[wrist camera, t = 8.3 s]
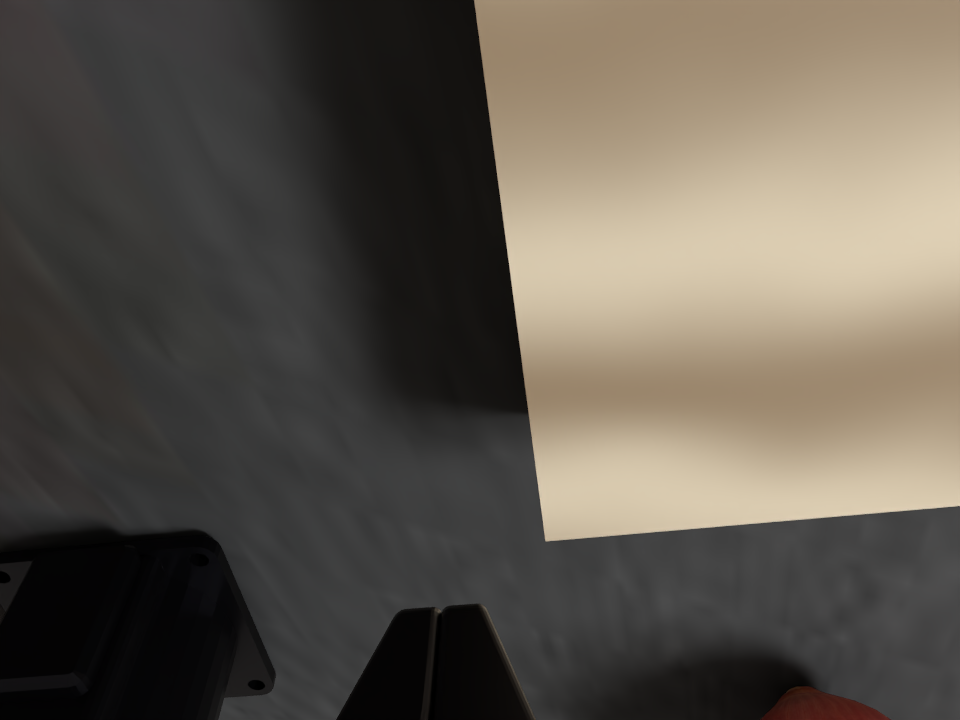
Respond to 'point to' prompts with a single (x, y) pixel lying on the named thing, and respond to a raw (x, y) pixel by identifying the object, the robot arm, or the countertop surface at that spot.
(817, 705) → the onion
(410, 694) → the robot arm
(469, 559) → the countertop surface
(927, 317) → the soap dish
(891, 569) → the countertop surface
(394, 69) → the countertop surface
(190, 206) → the countertop surface
